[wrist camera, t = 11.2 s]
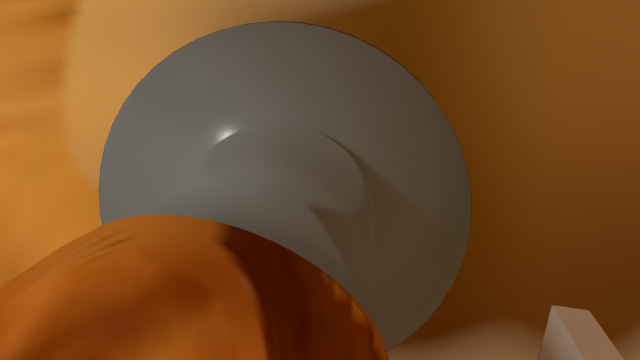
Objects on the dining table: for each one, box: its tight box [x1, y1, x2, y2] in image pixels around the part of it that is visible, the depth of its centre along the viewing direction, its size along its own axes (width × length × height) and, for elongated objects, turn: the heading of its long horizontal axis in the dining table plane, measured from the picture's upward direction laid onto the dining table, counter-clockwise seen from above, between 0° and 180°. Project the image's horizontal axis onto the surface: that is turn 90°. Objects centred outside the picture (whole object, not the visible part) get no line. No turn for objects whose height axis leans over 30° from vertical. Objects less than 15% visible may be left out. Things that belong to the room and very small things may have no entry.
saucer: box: [99, 21, 472, 351], centre depth 19 cm, size 12×12×1 cm
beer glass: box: [0, 123, 389, 360], centre depth 11 cm, size 7×7×15 cm
